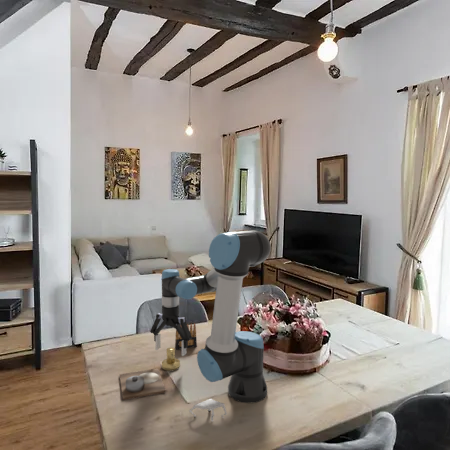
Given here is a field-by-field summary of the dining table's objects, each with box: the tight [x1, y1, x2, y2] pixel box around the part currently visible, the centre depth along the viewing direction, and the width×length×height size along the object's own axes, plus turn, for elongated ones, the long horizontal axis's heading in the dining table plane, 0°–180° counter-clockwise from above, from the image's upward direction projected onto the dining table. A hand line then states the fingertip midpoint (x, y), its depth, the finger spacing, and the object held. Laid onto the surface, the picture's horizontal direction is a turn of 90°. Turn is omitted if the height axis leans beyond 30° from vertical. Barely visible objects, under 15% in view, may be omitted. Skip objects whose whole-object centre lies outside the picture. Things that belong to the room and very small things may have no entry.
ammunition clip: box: [174, 322, 198, 351], centre depth 180 cm, size 11×2×12 cm, turn 110°
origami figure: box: [188, 398, 228, 422], centre depth 125 cm, size 12×8×5 cm
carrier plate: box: [119, 368, 167, 401], centre depth 145 cm, size 18×16×5 cm
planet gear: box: [161, 346, 181, 372], centre depth 160 cm, size 8×8×8 cm
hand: (170, 351), depth 160 cm, fingers open, 13 cm apart
